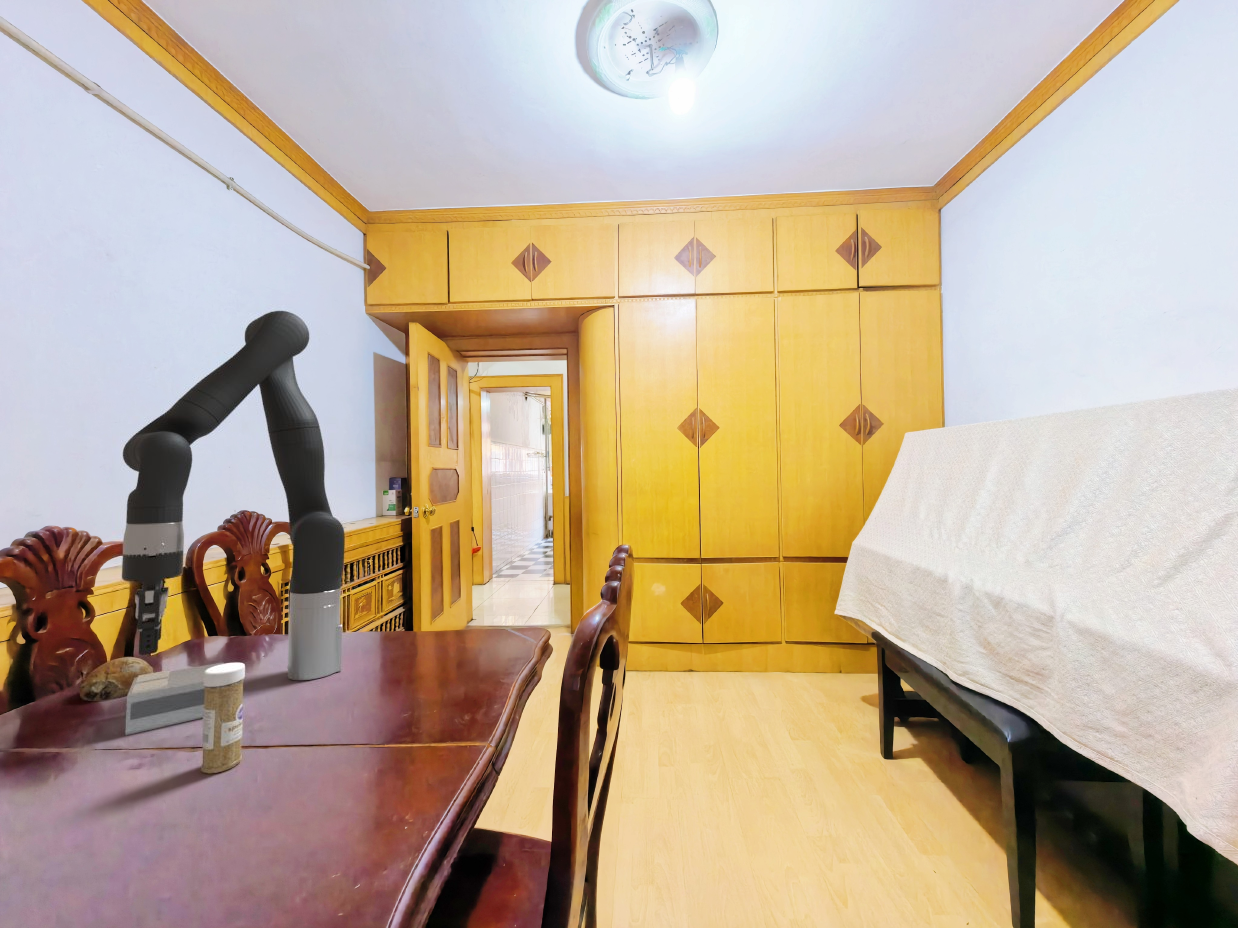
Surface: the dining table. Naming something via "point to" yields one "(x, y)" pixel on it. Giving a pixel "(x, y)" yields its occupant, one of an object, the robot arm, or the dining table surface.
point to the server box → (165, 698)
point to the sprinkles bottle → (222, 717)
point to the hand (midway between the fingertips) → (150, 647)
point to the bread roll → (113, 678)
